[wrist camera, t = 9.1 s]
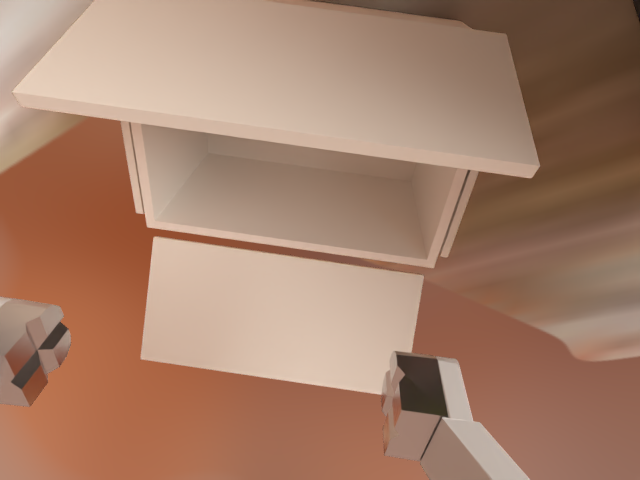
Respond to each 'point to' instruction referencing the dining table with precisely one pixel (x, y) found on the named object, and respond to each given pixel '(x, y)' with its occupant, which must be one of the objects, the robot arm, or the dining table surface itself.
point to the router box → (637, 7)
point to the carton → (298, 188)
